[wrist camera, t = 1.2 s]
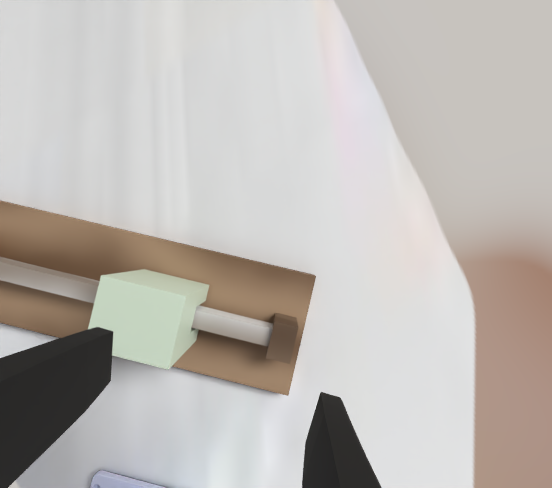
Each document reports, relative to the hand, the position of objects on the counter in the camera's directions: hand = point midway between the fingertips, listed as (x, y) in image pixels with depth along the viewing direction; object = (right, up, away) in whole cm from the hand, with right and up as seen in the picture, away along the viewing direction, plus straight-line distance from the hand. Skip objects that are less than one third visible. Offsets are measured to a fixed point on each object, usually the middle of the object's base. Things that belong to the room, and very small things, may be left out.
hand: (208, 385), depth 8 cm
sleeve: (-6, 0, +10) cm, 12 cm away
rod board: (-9, +1, +12) cm, 15 cm away
